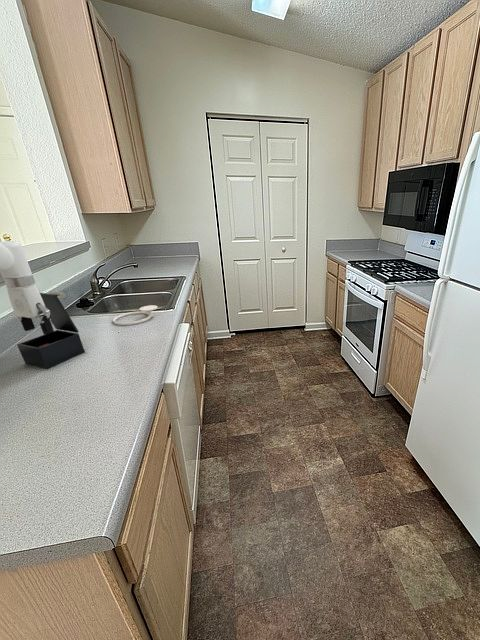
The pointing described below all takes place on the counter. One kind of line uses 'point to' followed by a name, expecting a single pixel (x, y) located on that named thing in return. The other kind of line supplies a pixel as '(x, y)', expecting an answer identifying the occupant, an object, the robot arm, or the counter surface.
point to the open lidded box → (51, 349)
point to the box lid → (58, 311)
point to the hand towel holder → (145, 308)
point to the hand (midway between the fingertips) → (39, 331)
